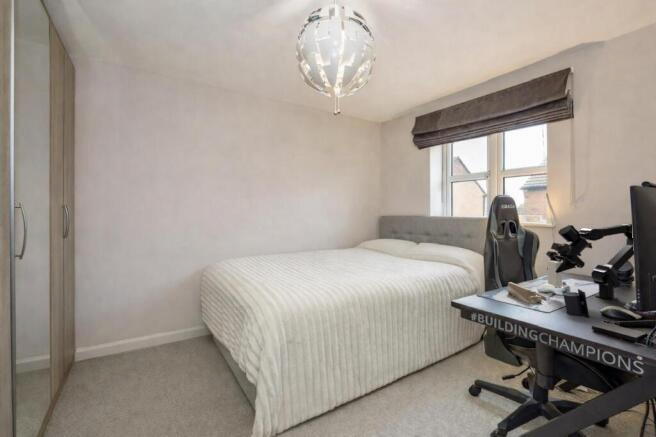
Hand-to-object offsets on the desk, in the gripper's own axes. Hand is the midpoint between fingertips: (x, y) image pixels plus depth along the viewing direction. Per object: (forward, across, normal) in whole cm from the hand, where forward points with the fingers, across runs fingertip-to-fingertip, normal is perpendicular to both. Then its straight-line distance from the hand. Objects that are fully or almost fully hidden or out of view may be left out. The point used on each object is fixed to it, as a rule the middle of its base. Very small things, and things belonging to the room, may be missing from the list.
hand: (551, 271), depth 147 cm
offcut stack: (+18, -1, +1) cm, 18 cm away
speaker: (+14, +23, +5) cm, 28 cm away
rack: (+17, 0, +2) cm, 17 cm away
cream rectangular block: (+4, 0, +6) cm, 7 cm away
